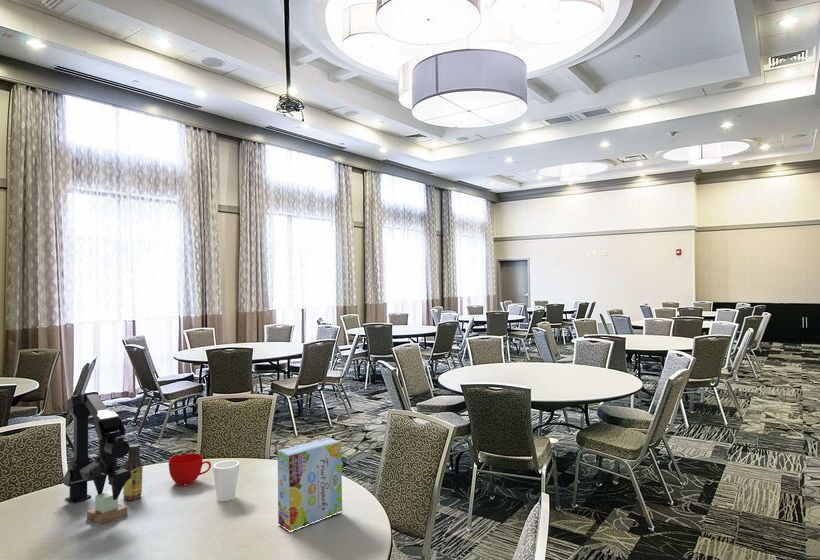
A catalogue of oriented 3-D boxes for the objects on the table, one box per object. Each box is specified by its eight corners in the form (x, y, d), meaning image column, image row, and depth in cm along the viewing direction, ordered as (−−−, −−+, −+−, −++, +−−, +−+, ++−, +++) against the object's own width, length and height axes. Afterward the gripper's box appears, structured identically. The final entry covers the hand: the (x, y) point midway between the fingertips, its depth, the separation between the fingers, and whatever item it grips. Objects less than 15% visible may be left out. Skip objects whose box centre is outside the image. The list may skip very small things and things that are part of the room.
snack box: (328, 506, 189) (329, 436, 189) (343, 514, 182) (343, 441, 183) (276, 525, 173) (276, 449, 174) (289, 534, 167) (290, 454, 168)
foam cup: (207, 501, 193) (207, 466, 194) (224, 492, 202) (225, 459, 202) (227, 505, 190) (227, 469, 190) (244, 495, 198) (244, 462, 199)
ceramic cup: (204, 488, 206) (204, 463, 206) (162, 488, 206) (162, 463, 206) (216, 477, 219) (216, 453, 219) (177, 476, 219) (177, 453, 219)
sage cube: (95, 510, 178) (95, 495, 179) (109, 504, 183) (109, 490, 183) (103, 513, 176) (103, 498, 176) (117, 507, 180) (117, 493, 180)
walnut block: (86, 521, 178) (86, 511, 178) (112, 511, 185) (112, 501, 186) (101, 527, 173) (101, 516, 173) (127, 516, 181) (127, 507, 181)
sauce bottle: (133, 501, 193) (134, 448, 193) (119, 500, 194) (120, 447, 195) (145, 494, 199) (146, 443, 200) (132, 493, 201) (132, 442, 201)
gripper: (69, 454, 177) (68, 499, 177) (99, 463, 168) (99, 511, 168) (101, 446, 187) (101, 489, 187) (132, 453, 178) (132, 499, 178)
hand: (107, 497), depth 179 cm, fingers open, 9 cm apart
